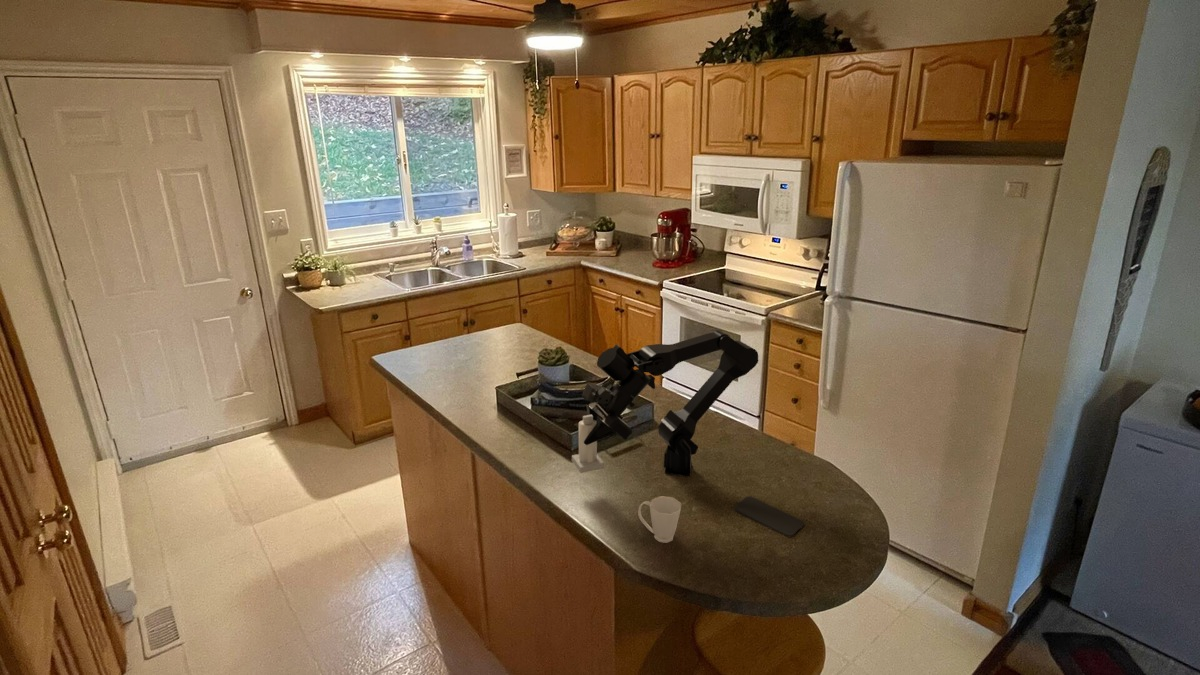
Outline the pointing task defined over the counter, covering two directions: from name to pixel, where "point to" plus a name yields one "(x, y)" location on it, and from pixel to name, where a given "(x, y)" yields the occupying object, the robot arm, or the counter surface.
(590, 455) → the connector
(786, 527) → the phone
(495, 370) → the counter surface
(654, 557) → the counter surface
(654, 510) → the cup
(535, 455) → the counter surface
